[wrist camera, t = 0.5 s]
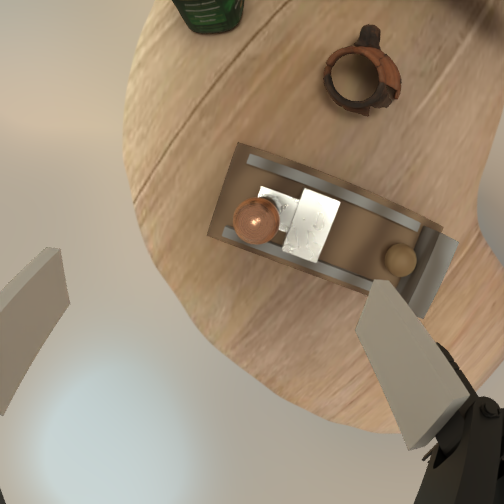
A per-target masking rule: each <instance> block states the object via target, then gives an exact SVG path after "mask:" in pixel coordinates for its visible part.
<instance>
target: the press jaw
mask: <svg viewBox="0 0 504 504" xmlns="http://www.w3.org/2000/svg"><path fill="white" fill-rule="evenodd" d="M339 205H340V202H339V201H337V200H335V199H332V198H330V197H327V196H325V195H322V194H319V193H317V192H314V191H312V190H309V189H306V188H304V187H303V189H302V192H301V195H300V197H299V199H297V198H294V197H291V196H289V195H286V194H283V193H281V192H278V191H275V190H272V189H269V188H267V187H264V186H261V189H260V191H259V194H258V197H254V198H249V199H246V200H245V201H243V202H242V203H241V204H240V205H239V206H238V207H237V208H236V210H235V212H234V215H233V226H234V229H235V232H236V234H237V235H238V236H239V237H240V238H241V239H242V240H243V241H245V242H247V243H250V244H256V245H258V244H264V243H266V242H268V241H270V240H271V239H272V238H273V237H274V236H275V235H276V234H277V232H278V230H281V231H283V232H286V235H285V237H284V240H283V243H282V251H285V252H287V253H290V254H293V255H295V256H298V257H301V258H303V259H306V260H309V261H311V262H314V263H317V260H318V258H319V255H320V253H321V251H322V248H323V246H324V243H325V241H326V238H327V236H328V233H329V231H330V228H331V226H332V223H333V220H334V218H335V215H336V213H337V210H338V207H339Z"/></svg>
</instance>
